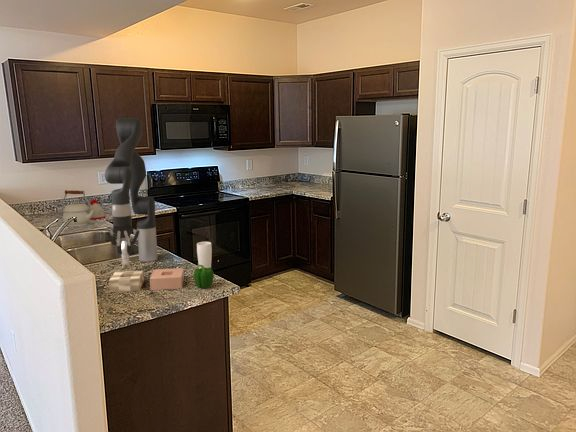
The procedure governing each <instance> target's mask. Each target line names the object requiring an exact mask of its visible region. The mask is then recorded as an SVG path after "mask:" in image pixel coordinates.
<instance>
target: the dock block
mask: <svg viewBox="0 0 576 432" xmlns="http://www.w3.org/2000/svg"><path fill="white" fill-rule="evenodd" d="M184 279H185V272H184V267H181V268H180V267H179V268H178V267H177V268H160V269H157V268H156V269H153V271H152V273H151V275H150V278H149V289H150V291H154V290H155V291H159V290H160V291H161V290H162V291H163V290H174V289H177V290H179V289H183V285H184V281H185V280H184Z"/></svg>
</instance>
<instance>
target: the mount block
mask: <svg viewBox="0 0 576 432" xmlns="http://www.w3.org/2000/svg"><path fill="white" fill-rule="evenodd" d="M144 276H145V274H144V270H128V271H123V270H122V271H114V273H113V275H111V277H110V278H109V280H108V289H109V293H117V292H118V293H119V292H120V293H121V292H136V291H140V290H141V288H142V286H143V285H144V282H145V278H144Z"/></svg>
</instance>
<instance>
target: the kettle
mask: <svg viewBox="0 0 576 432" xmlns="http://www.w3.org/2000/svg"><path fill="white" fill-rule="evenodd" d="M68 194H69V195H83V197H84V199H85V200H86V201H87V204H88V206H87V205H86V204H84V203H79V201H78V200H76V199H75V200H73V201H72V203H71V204H68V205H66V206H64V201H65V199H66V198H67V195H68ZM90 202H91V201H90V200H89V199H88V198H87V197H86V195H85V190H67V189H66V190H64V197H63V199H62V200H61V204H60V205H61V206H62V209H63V210H62V212H63V213H62V221H63V222H64V223H65V221H66V220H68V219H70V218H72V217H77V222H74V221H72V222H71V223H69V225H68V226H67V227H69V228H72V227H74V228H76V227H83V226H87V225H89V222H90V221H91V220H90V219H91V217H92V215H93V213H94V211H95V210H91V212H90V211H89V210H90V205H91V203H90ZM88 207H89V208H88Z"/></svg>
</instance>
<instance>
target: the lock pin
mask: <svg viewBox="0 0 576 432" xmlns="http://www.w3.org/2000/svg"><path fill="white" fill-rule="evenodd" d="M120 244H121V255H120V256H121V267H122V269H130V268H131V265H130V262H131V261H130V254H128V247H127V246H128V244H127V241H126V239H121V241H120Z"/></svg>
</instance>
